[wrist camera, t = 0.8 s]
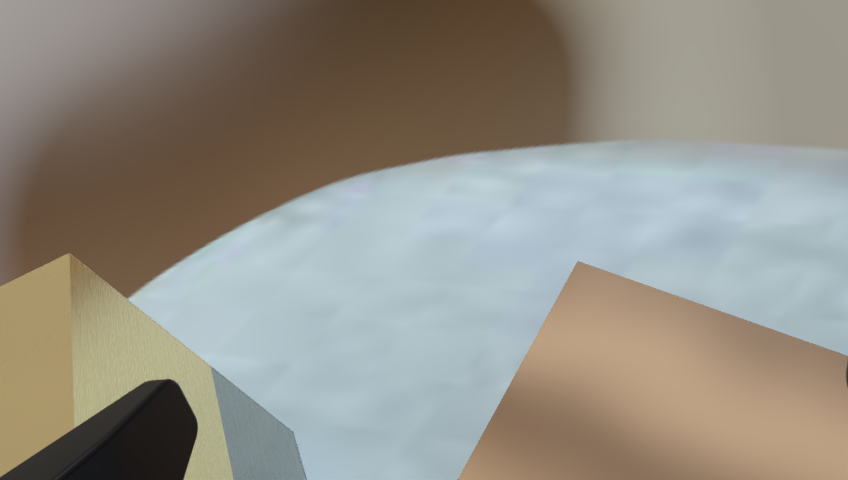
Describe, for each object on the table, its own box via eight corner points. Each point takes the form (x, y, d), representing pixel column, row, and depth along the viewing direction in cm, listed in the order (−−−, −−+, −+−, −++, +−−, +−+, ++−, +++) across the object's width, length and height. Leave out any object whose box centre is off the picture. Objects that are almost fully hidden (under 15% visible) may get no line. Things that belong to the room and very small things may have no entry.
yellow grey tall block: (328, 555, 21) (74, 439, 11) (199, 624, 21) (-181, 569, 11) (293, 431, 24) (69, 253, 14) (180, 490, 24) (-130, 349, 14)
